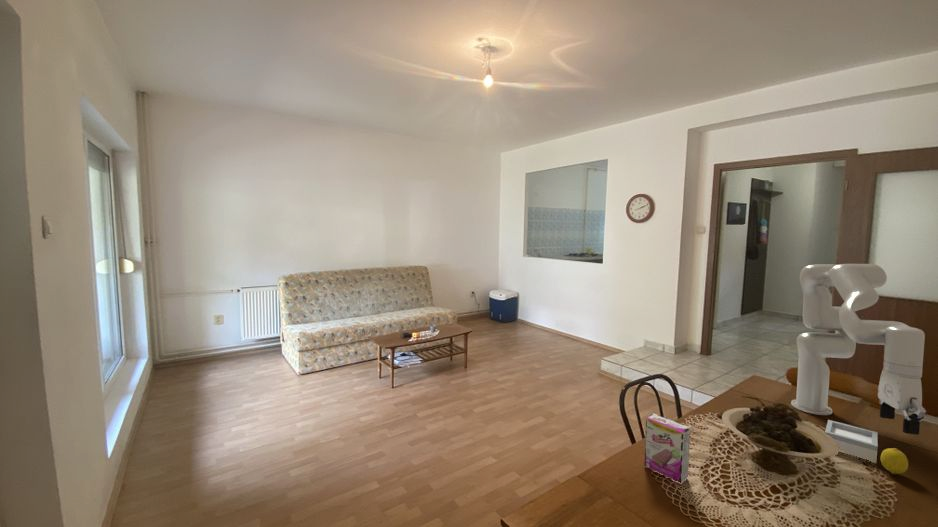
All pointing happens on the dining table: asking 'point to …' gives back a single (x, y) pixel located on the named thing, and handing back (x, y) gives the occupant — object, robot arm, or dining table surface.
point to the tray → (854, 440)
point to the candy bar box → (667, 447)
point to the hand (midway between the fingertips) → (898, 425)
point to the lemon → (894, 461)
